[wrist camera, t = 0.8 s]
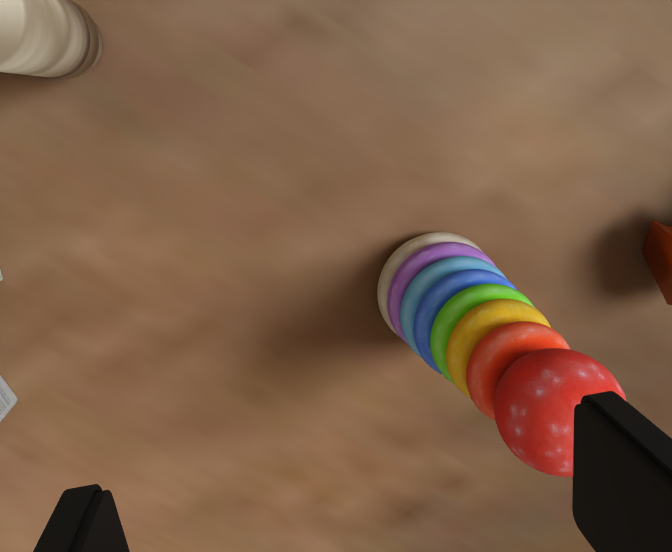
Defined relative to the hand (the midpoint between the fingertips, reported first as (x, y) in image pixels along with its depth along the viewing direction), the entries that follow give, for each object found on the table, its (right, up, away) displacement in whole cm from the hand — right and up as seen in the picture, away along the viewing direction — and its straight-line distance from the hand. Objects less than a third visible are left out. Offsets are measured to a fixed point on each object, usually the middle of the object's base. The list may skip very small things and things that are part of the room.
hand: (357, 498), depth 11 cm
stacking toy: (+6, +4, +27) cm, 28 cm away
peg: (-15, +17, +20) cm, 30 cm away
